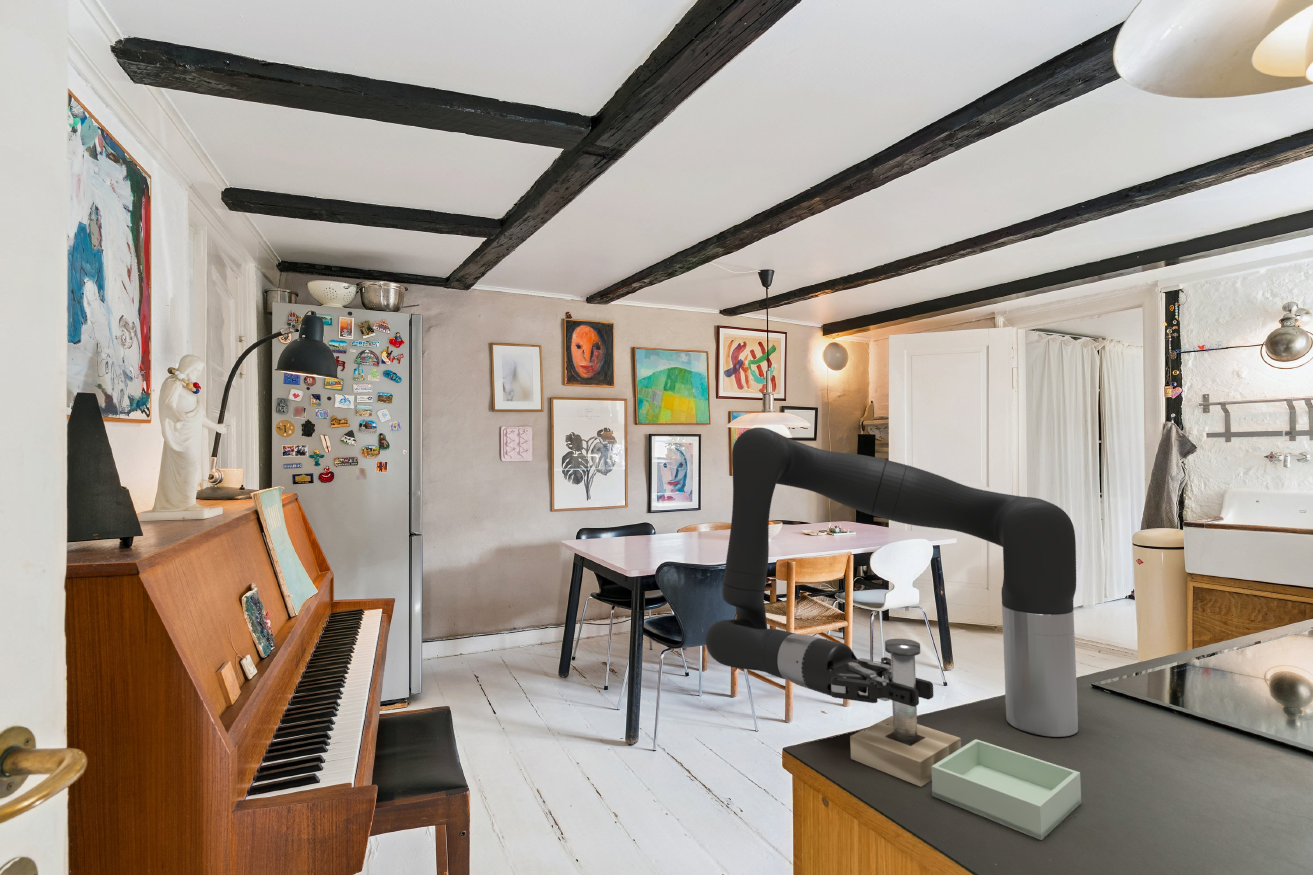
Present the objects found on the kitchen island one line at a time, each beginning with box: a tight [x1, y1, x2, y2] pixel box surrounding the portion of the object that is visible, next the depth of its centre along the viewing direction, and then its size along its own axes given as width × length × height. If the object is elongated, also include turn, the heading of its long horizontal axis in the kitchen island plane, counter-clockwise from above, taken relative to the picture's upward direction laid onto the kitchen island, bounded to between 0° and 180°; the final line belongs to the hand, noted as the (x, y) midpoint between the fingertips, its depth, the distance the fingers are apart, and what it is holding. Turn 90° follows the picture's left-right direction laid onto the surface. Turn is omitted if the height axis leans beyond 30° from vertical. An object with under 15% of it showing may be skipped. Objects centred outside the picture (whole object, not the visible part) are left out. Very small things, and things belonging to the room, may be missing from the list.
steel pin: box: [884, 638, 921, 746], centre depth 89 cm, size 4×4×15 cm
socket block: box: [849, 715, 962, 788], centre depth 88 cm, size 10×10×3 cm
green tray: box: [931, 738, 1082, 841], centre depth 78 cm, size 11×12×4 cm
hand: (924, 694), depth 86 cm, fingers closed on steel pin, 3 cm apart
